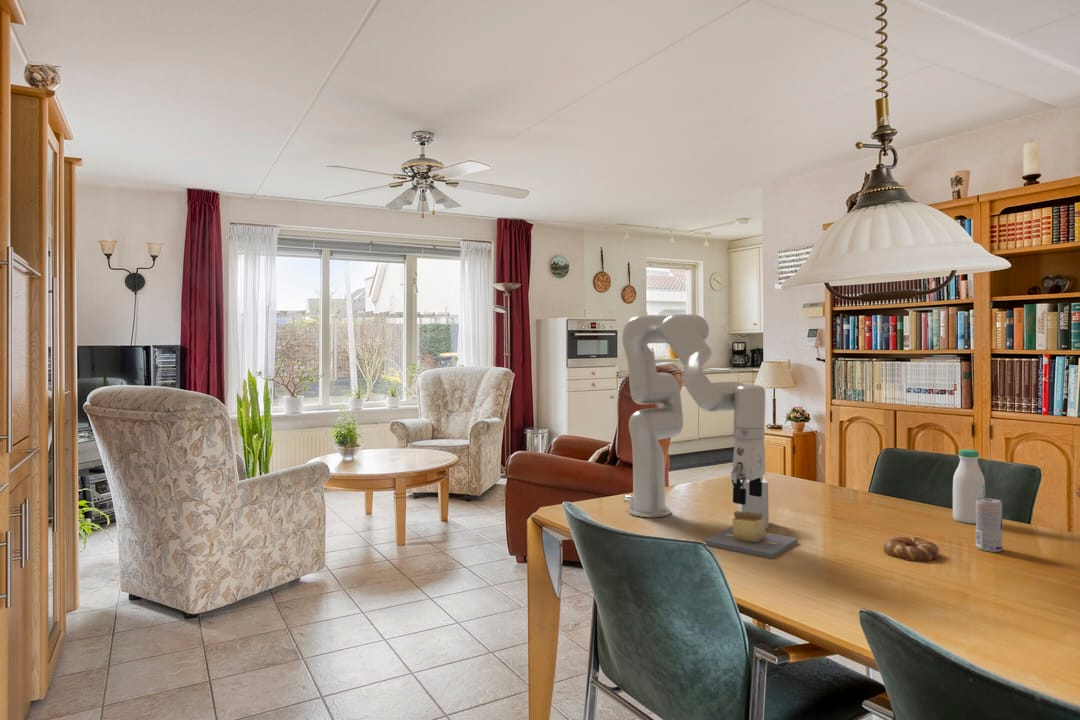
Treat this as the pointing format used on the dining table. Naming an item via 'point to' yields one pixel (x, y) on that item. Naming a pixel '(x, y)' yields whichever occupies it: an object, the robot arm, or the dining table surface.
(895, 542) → the pretzel
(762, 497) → the supplement box
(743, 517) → the tan boxy piece
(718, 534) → the post base
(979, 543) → the energy drink
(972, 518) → the milk bottle
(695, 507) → the dining table surface
